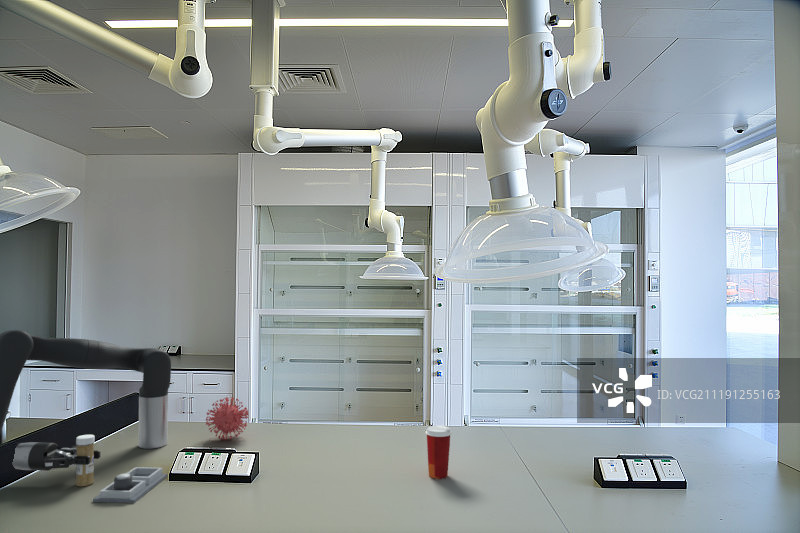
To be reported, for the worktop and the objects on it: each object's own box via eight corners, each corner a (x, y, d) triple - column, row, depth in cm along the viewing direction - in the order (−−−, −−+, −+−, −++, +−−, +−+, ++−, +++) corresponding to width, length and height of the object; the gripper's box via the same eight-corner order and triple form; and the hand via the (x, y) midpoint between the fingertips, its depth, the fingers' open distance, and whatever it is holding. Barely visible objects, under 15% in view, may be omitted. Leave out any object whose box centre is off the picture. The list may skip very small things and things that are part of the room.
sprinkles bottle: (94, 484, 161) (95, 436, 161) (76, 488, 158) (76, 439, 158) (92, 480, 165) (93, 433, 165) (74, 483, 162) (75, 435, 162)
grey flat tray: (130, 475, 168) (130, 457, 168) (167, 476, 168) (167, 458, 168) (92, 501, 149) (93, 481, 149) (134, 502, 149) (134, 482, 149)
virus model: (207, 434, 212) (207, 394, 212) (248, 432, 215) (249, 392, 216) (203, 446, 198) (204, 403, 198) (247, 443, 201) (248, 401, 201)
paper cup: (454, 473, 173) (455, 427, 173) (445, 481, 166) (446, 433, 166) (430, 469, 176) (430, 424, 176) (420, 477, 169) (421, 430, 169)
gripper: (18, 450, 155) (80, 451, 154) (52, 435, 169) (108, 436, 169) (17, 478, 155) (79, 479, 154) (51, 461, 169) (108, 462, 169)
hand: (94, 457), depth 162 cm, fingers closed on sprinkles bottle, 4 cm apart
